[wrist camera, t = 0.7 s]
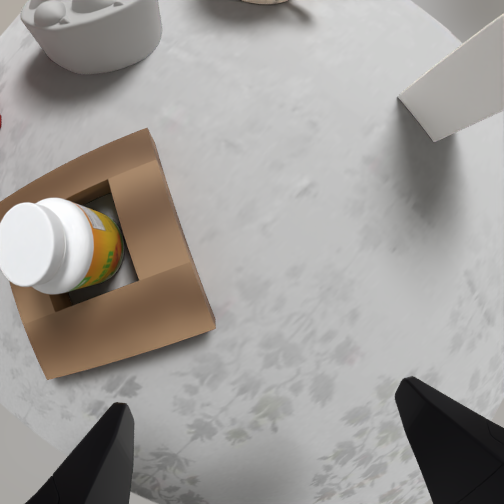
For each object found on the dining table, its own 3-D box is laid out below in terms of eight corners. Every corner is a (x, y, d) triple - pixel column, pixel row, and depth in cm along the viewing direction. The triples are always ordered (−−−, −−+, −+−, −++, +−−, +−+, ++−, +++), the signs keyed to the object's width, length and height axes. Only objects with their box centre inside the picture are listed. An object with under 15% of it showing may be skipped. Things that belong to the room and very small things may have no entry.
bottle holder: (215, 318, 21) (215, 328, 18) (63, 367, 20) (47, 380, 17) (154, 142, 21) (147, 127, 18) (13, 210, 19) (-7, 205, 16)
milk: (420, 76, 24) (552, -23, 3) (454, 119, 25) (599, 46, 3) (395, 97, 24) (554, -22, 2) (433, 144, 24) (610, 65, 2)
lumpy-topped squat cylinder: (103, -8, 20) (86, -58, 11) (188, 20, 21) (186, -46, 13) (36, 55, 19) (1, 10, 10) (112, 94, 20) (78, 33, 12)
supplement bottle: (97, 298, 20) (28, 326, 11) (53, 250, 20) (-26, 249, 10) (140, 245, 21) (87, 239, 11) (93, 198, 20) (25, 165, 11)
